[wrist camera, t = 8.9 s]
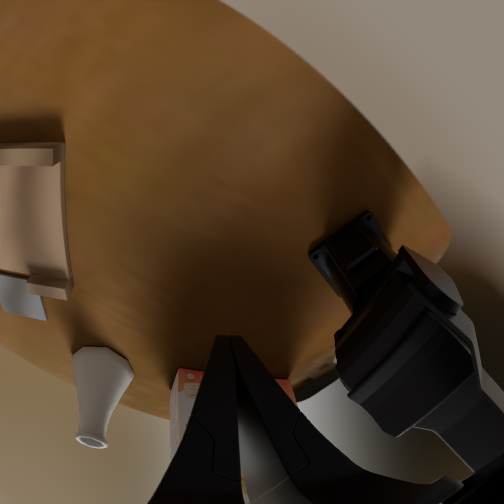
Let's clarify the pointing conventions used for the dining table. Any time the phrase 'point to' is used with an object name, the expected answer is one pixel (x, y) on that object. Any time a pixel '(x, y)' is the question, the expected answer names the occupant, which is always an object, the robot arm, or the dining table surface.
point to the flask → (98, 391)
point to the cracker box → (183, 404)
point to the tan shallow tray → (33, 227)
